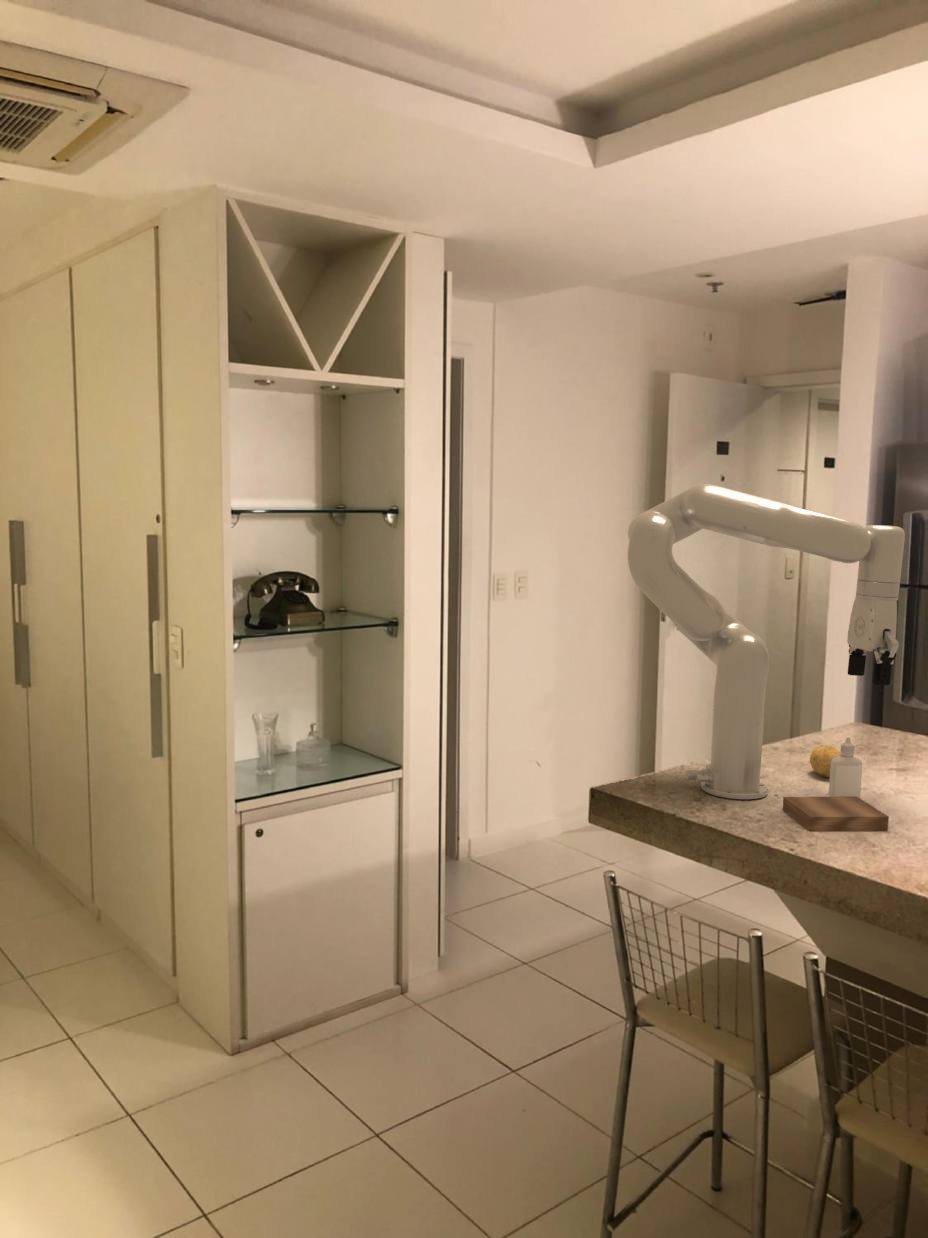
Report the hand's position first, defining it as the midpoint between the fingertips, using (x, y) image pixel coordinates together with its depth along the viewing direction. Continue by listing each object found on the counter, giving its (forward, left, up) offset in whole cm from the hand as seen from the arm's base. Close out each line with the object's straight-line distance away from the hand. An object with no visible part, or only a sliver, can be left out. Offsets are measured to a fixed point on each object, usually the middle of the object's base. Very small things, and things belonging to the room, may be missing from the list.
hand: (867, 679), depth 195 cm
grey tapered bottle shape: (-4, -1, -23) cm, 24 cm away
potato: (0, +16, -23) cm, 28 cm away
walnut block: (-12, -14, -24) cm, 30 cm away
